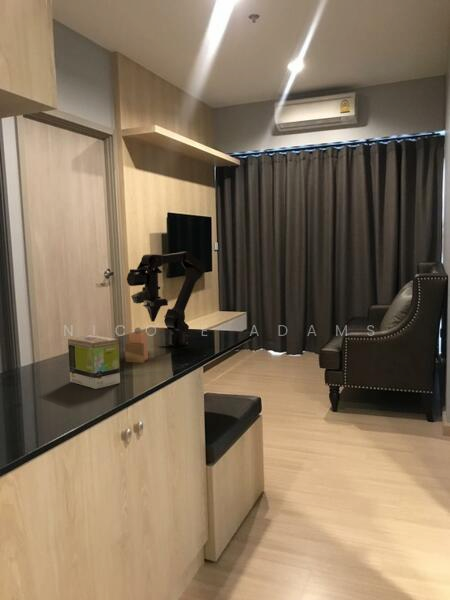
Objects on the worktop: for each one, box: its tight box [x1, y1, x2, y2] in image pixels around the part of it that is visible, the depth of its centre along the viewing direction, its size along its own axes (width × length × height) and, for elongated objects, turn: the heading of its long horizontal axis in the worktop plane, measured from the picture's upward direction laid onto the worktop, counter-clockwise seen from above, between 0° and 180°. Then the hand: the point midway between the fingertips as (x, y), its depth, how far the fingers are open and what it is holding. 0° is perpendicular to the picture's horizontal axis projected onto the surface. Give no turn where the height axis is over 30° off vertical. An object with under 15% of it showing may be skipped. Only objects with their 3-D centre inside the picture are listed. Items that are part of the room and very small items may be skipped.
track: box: [124, 342, 146, 364], centre depth 198 cm, size 17×7×8 cm, turn 161°
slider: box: [128, 327, 149, 361], centre depth 193 cm, size 4×5×12 cm
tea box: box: [67, 334, 121, 390], centre depth 168 cm, size 15×10×15 cm
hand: (152, 321), depth 218 cm, fingers closed
